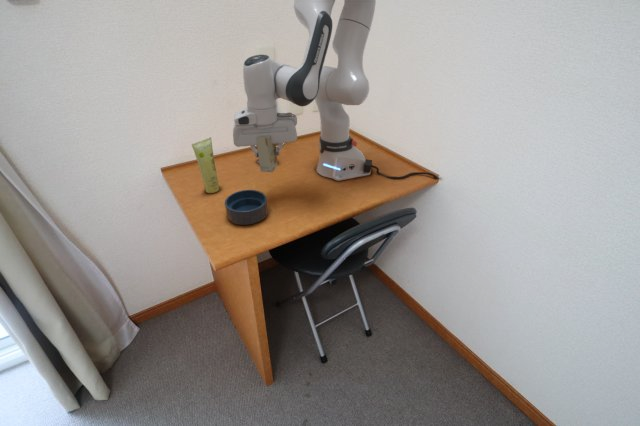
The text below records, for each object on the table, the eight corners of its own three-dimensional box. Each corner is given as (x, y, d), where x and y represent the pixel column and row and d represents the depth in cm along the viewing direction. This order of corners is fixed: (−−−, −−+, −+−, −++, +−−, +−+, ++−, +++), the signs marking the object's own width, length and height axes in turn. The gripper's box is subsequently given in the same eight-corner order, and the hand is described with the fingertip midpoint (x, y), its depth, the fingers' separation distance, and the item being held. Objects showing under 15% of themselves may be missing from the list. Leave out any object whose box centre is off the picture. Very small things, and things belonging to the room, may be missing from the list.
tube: (217, 194, 114) (207, 143, 103) (203, 194, 114) (191, 143, 103) (220, 186, 119) (211, 137, 107) (207, 186, 118) (196, 137, 107)
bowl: (267, 201, 110) (265, 188, 107) (269, 223, 100) (267, 209, 97) (228, 205, 108) (225, 191, 105) (226, 228, 98) (223, 213, 94)
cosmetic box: (272, 173, 104) (268, 138, 97) (260, 172, 105) (255, 137, 98) (278, 164, 109) (275, 130, 102) (266, 163, 110) (262, 129, 103)
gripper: (295, 109, 100) (297, 149, 109) (229, 113, 97) (237, 154, 106) (297, 115, 95) (299, 157, 104) (229, 120, 92) (236, 162, 100)
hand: (267, 155), depth 105 cm, fingers closed on cosmetic box, 5 cm apart
